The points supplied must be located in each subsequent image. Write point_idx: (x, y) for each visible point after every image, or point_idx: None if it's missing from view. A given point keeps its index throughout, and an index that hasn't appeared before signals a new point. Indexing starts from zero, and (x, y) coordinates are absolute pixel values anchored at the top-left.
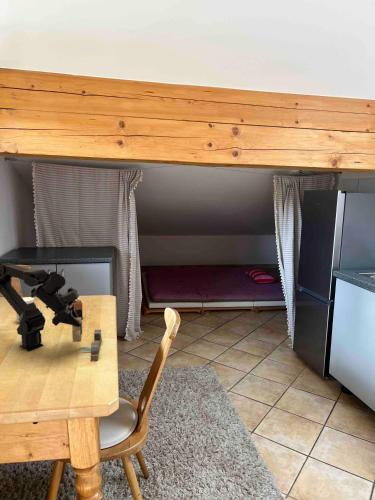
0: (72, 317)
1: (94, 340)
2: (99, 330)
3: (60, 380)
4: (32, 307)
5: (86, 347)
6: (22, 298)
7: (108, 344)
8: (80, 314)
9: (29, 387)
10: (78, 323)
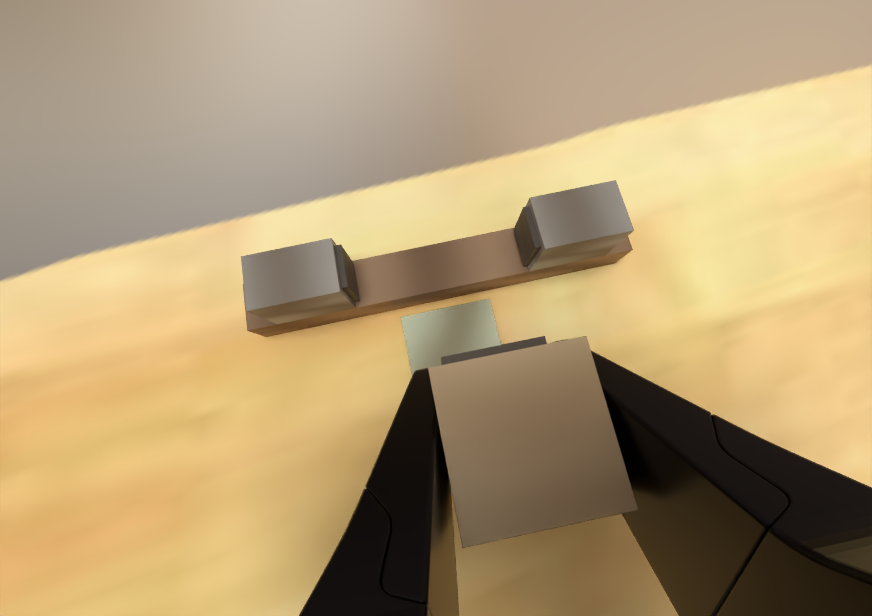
0: (843, 481)
1: (360, 303)
2: (268, 262)
3: None
4: None
5: (421, 354)
6: None
7: (352, 221)
8: None
9: None
10: (605, 362)
